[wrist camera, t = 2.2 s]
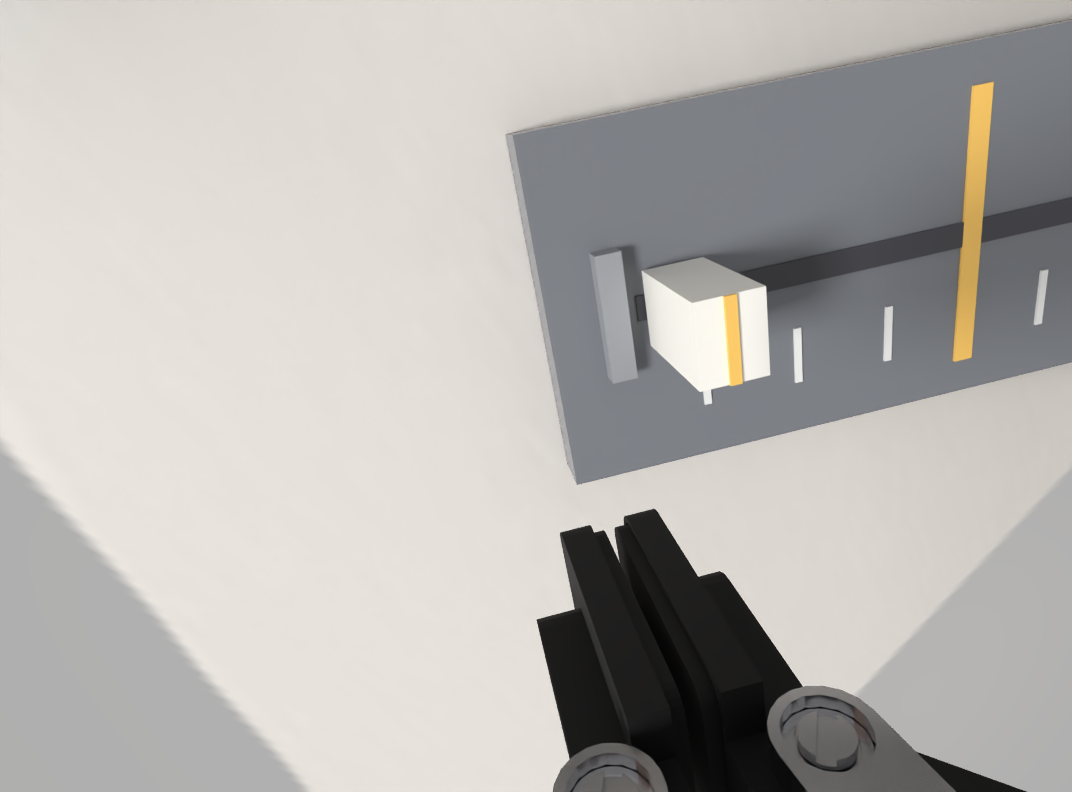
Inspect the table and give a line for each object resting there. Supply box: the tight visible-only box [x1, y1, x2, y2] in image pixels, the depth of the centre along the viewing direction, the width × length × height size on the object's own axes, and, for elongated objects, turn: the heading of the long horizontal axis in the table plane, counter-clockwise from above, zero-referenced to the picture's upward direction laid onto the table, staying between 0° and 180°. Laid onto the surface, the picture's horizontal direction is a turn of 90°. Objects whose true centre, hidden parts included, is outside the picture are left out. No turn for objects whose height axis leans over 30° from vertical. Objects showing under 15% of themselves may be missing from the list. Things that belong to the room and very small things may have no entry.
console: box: [506, 19, 1072, 485], centre depth 27 cm, size 14×30×3 cm, turn 101°
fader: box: [642, 257, 770, 392], centre depth 23 cm, size 3×2×5 cm
